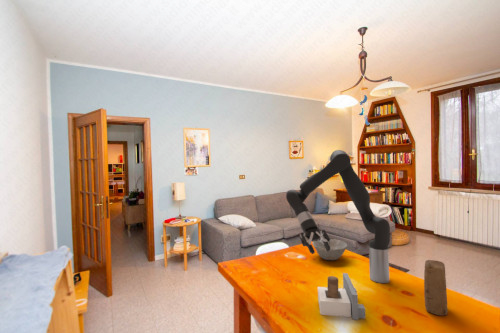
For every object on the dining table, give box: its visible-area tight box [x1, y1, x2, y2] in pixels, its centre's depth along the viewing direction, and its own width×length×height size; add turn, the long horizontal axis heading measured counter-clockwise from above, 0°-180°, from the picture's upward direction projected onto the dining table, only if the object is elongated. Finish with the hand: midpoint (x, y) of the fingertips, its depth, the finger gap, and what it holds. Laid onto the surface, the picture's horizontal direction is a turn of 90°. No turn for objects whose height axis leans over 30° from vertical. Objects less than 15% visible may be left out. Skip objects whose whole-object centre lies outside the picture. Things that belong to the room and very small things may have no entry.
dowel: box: [327, 275, 339, 299], centre depth 106 cm, size 4×4×12 cm
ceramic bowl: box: [311, 238, 348, 261], centre depth 162 cm, size 22×23×10 cm
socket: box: [317, 286, 352, 318], centre depth 106 cm, size 12×12×6 cm
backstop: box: [342, 272, 366, 321], centre depth 106 cm, size 20×5×10 cm, turn 169°
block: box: [423, 259, 448, 317], centre depth 102 cm, size 11×8×20 cm
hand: (321, 251), depth 113 cm, fingers open, 8 cm apart
